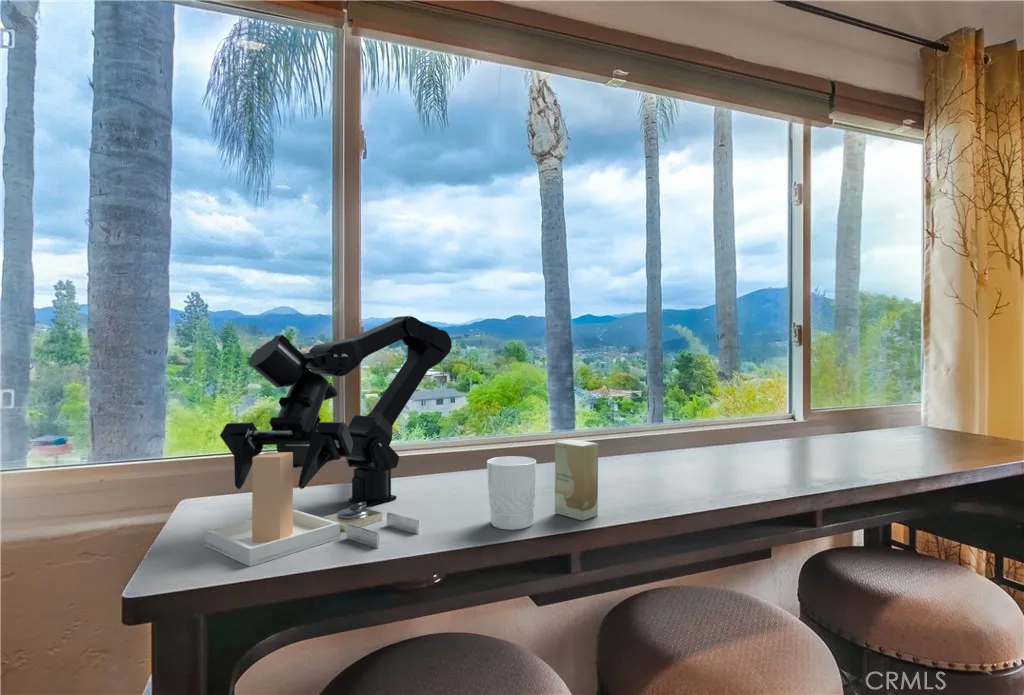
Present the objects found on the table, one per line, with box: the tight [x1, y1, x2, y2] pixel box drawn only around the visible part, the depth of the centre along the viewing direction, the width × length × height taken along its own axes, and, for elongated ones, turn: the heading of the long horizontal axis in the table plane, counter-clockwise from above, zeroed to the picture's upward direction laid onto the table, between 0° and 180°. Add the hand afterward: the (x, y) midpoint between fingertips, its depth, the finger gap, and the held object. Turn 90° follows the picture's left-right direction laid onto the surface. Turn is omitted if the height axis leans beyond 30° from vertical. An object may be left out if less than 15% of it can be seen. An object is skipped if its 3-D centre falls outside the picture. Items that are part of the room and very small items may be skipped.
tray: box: [204, 508, 341, 567], centre depth 76 cm, size 13×13×2 cm
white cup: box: [486, 455, 537, 531], centre depth 83 cm, size 8×8×10 cm
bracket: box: [322, 501, 420, 549], centre depth 81 cm, size 9×16×3 cm, turn 53°
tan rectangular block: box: [251, 451, 294, 543], centre depth 76 cm, size 4×4×12 cm
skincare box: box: [554, 438, 599, 522], centre depth 88 cm, size 6×4×12 cm
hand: (268, 487), depth 75 cm, fingers open, 9 cm apart
